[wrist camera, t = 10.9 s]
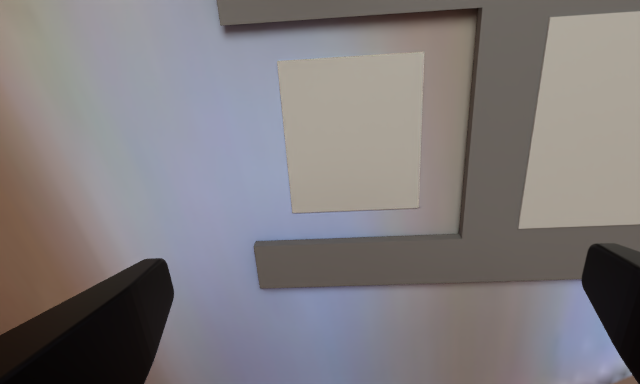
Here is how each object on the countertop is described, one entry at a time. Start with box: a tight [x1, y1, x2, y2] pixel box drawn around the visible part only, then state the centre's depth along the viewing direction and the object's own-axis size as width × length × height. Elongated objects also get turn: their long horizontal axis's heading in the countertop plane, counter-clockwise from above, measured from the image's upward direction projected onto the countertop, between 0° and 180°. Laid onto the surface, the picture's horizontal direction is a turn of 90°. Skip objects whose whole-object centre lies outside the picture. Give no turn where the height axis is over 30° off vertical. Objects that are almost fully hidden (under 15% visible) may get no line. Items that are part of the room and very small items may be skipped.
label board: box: [217, 0, 640, 288], centre depth 17 cm, size 22×15×1 cm
